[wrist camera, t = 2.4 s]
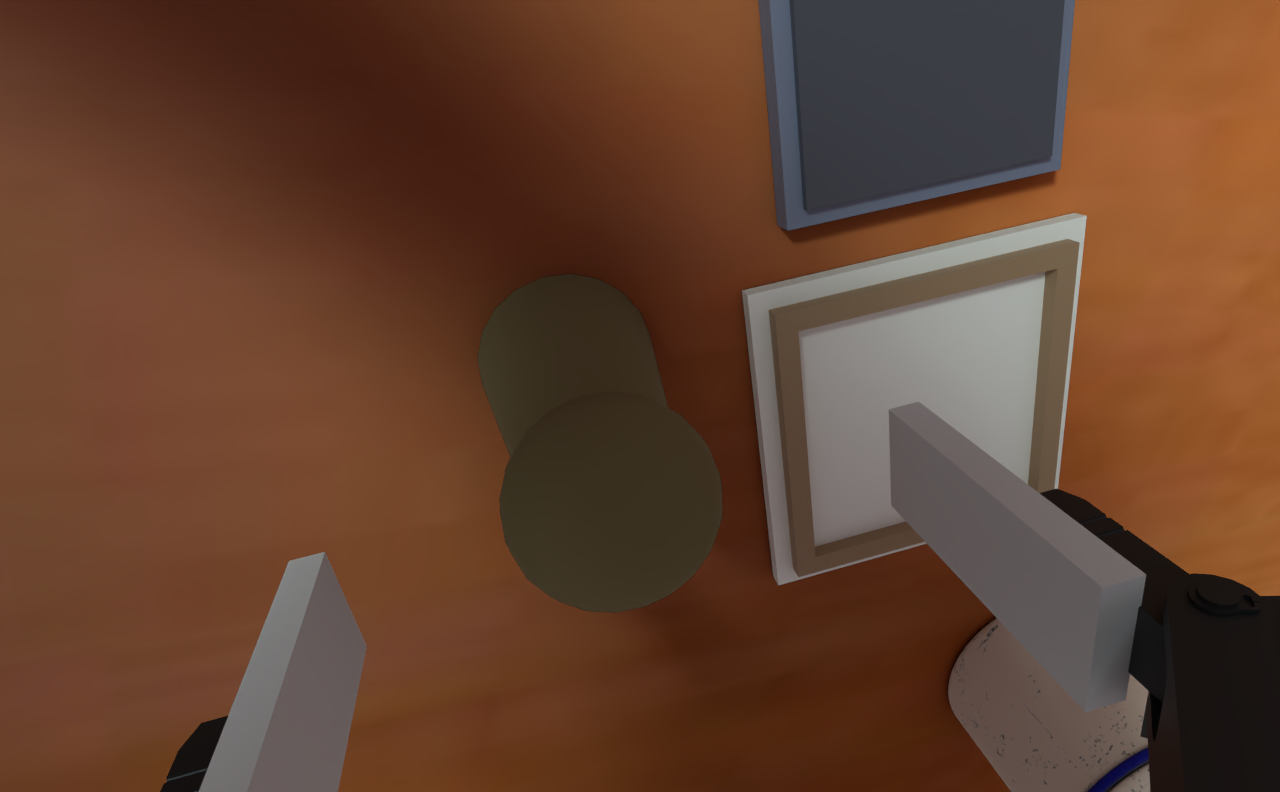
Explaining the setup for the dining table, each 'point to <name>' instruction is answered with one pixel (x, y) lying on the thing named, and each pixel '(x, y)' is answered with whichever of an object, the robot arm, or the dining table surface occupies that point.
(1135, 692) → the teacup with lid
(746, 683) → the dining table surface
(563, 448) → the olive knob handle
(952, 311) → the board
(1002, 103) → the ink pad
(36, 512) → the dining table surface
